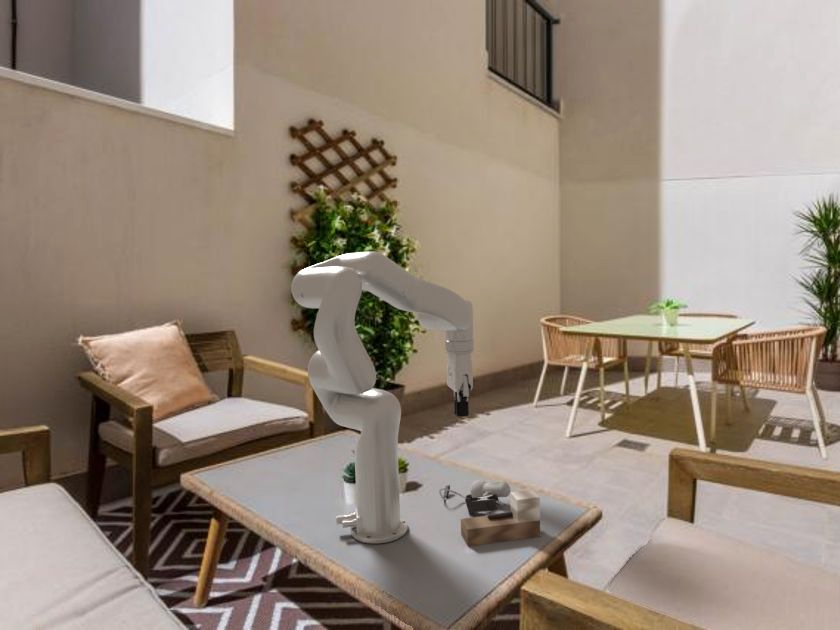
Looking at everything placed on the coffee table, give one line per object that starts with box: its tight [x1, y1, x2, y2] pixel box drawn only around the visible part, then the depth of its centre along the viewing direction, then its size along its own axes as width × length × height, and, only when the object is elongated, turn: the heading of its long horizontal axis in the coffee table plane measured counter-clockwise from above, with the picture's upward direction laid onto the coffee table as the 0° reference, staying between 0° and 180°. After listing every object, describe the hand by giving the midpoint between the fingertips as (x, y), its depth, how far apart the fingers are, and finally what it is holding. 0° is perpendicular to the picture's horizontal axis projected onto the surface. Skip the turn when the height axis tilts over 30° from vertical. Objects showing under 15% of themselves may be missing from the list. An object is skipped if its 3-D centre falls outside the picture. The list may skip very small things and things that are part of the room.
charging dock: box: [460, 489, 541, 547], centre depth 111 cm, size 16×6×8 cm, turn 101°
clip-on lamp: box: [438, 479, 511, 517], centre depth 126 cm, size 12×6×18 cm
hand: (461, 414), depth 138 cm, fingers closed
